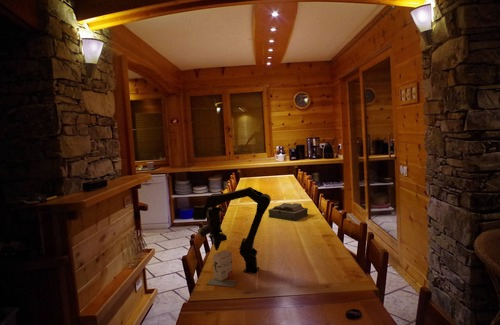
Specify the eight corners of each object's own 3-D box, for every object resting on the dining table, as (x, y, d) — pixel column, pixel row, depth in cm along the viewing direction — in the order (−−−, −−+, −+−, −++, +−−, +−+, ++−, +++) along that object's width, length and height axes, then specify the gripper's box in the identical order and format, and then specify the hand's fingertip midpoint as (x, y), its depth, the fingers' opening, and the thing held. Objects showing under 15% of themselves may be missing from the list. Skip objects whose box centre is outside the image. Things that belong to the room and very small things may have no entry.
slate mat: (211, 279, 164) (211, 278, 164) (237, 281, 160) (237, 281, 160) (206, 284, 158) (206, 284, 158) (233, 287, 155) (233, 286, 155)
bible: (290, 223, 249) (289, 210, 248) (265, 217, 270) (264, 204, 269) (311, 216, 264) (311, 204, 263) (286, 211, 285) (285, 199, 284)
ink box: (225, 273, 170) (224, 249, 169) (233, 275, 167) (232, 251, 166) (213, 278, 163) (212, 254, 162) (220, 281, 160) (219, 256, 159)
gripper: (194, 217, 177) (196, 247, 179) (203, 227, 160) (205, 259, 161) (215, 214, 181) (217, 243, 182) (226, 223, 163) (228, 255, 165)
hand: (216, 250), depth 173 cm, fingers closed
